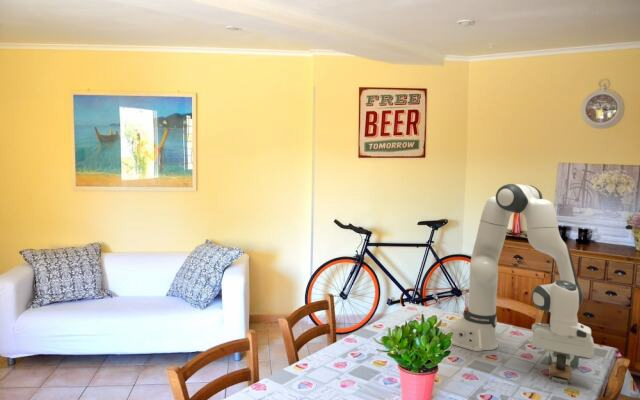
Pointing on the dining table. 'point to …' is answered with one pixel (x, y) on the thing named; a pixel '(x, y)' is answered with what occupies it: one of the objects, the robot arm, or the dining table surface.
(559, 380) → the rail
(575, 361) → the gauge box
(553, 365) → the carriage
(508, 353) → the dining table surface
